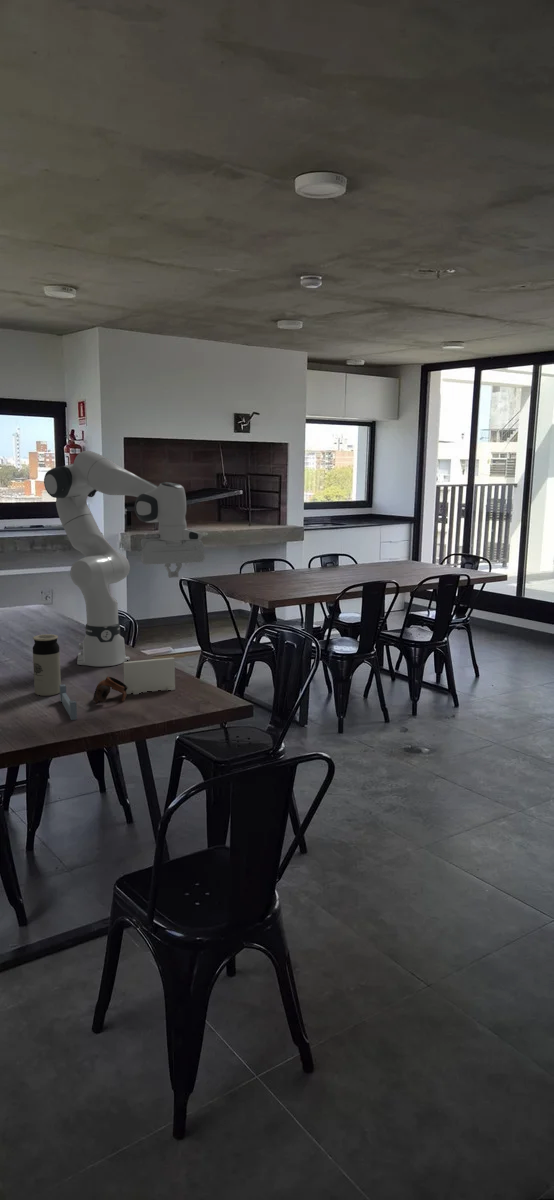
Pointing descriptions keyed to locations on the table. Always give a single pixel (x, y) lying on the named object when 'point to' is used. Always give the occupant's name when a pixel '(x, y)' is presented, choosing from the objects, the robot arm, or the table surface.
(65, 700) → the handle
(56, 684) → the travel mug
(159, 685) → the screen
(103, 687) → the pottery mug
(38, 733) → the table surface
